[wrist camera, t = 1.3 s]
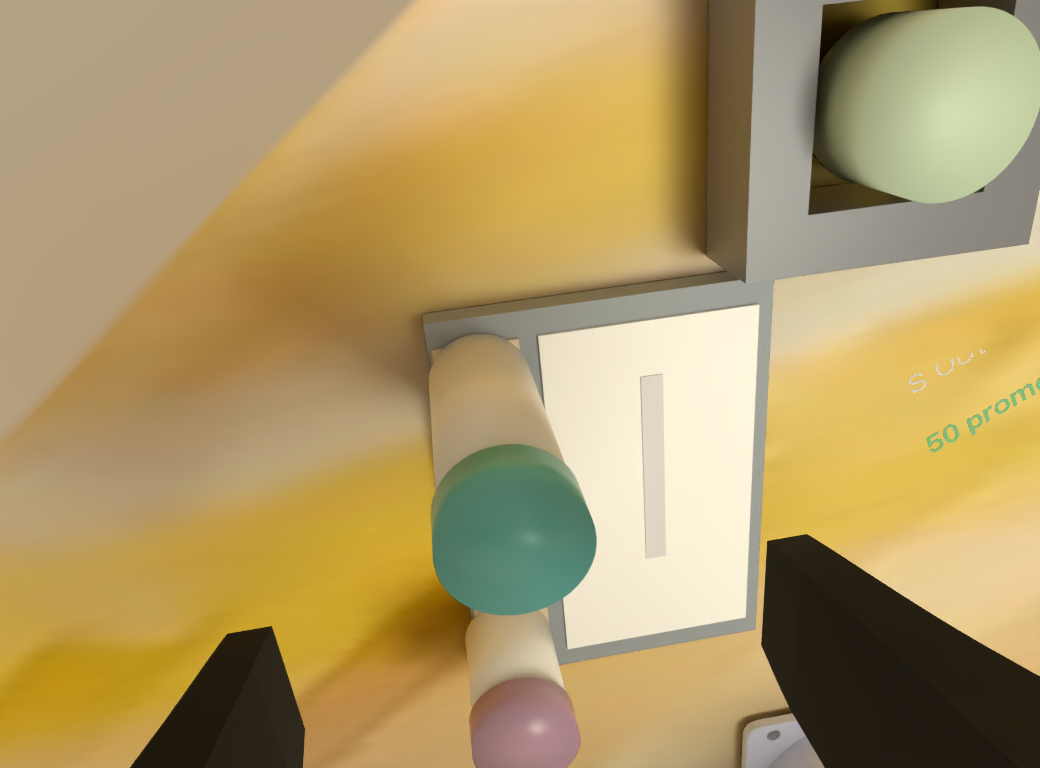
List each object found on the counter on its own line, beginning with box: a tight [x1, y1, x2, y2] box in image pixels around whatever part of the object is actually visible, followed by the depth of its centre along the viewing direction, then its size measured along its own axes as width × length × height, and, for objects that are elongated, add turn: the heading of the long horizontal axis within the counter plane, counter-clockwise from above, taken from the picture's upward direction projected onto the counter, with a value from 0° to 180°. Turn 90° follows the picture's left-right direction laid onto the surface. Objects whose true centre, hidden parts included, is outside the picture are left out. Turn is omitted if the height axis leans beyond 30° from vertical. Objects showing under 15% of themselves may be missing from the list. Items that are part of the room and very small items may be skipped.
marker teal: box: [429, 334, 597, 616], centre depth 16 cm, size 3×3×7 cm
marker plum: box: [465, 610, 580, 768], centre depth 21 cm, size 3×3×4 cm
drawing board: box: [422, 271, 774, 665], centre depth 21 cm, size 9×12×1 cm
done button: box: [813, 7, 1040, 204], centre depth 15 cm, size 4×4×2 cm
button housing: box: [706, 0, 1040, 284], centre depth 17 cm, size 7×7×2 cm
